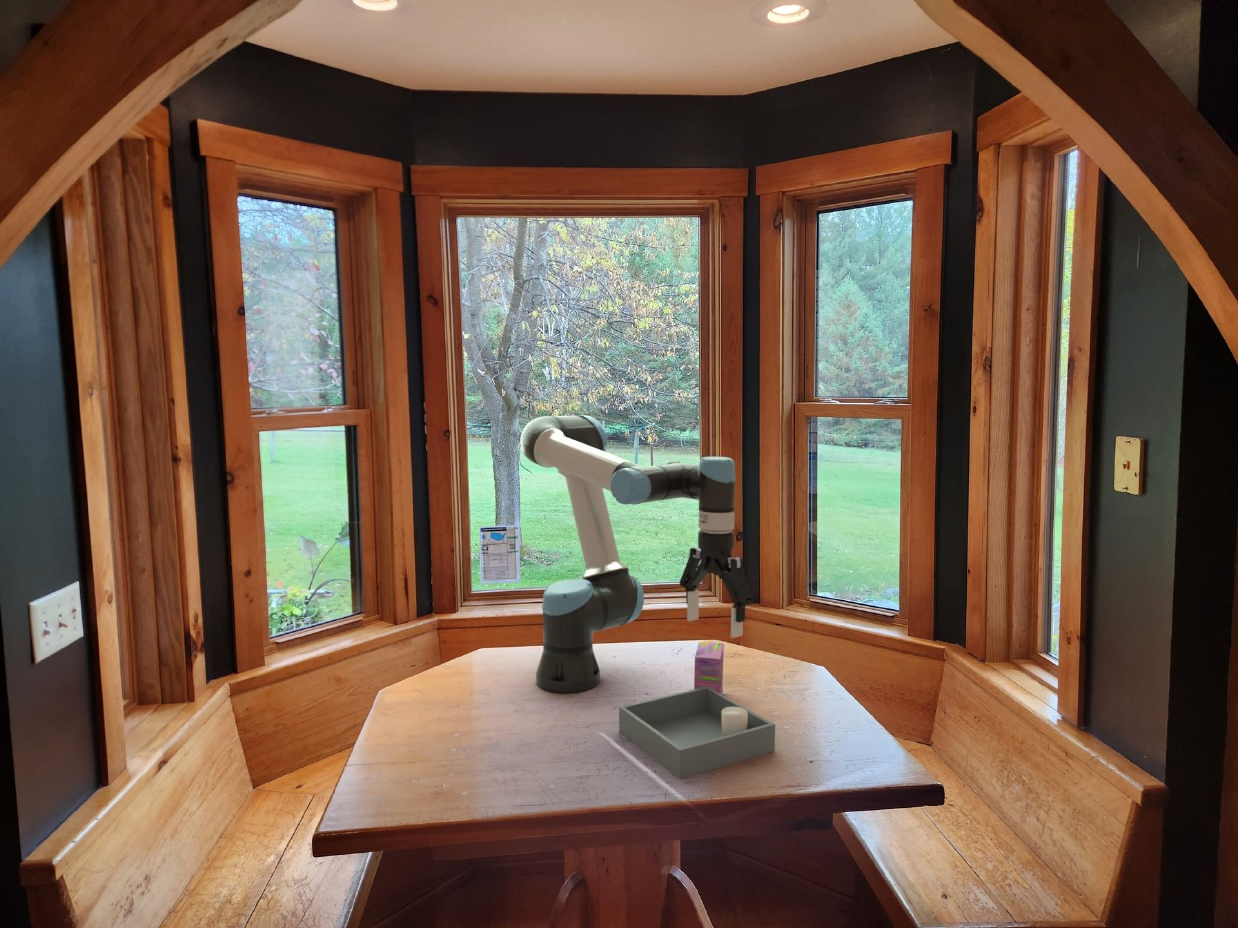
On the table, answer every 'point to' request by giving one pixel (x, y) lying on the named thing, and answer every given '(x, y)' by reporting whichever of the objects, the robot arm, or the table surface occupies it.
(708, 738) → the crate
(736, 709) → the cream bullet shape
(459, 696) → the table surface
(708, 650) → the box
